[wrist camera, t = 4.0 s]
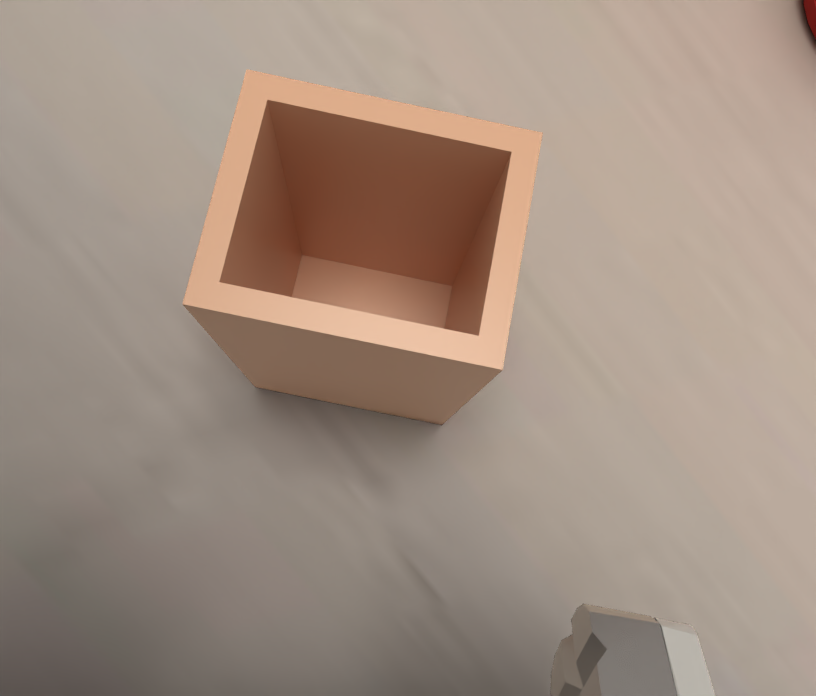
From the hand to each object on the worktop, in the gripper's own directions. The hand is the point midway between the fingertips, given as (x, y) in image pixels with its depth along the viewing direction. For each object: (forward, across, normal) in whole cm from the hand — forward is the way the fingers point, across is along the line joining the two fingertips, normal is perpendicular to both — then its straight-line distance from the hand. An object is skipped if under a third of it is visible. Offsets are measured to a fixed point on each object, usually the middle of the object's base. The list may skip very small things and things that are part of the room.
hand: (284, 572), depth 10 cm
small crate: (+12, 0, +3) cm, 12 cm away
